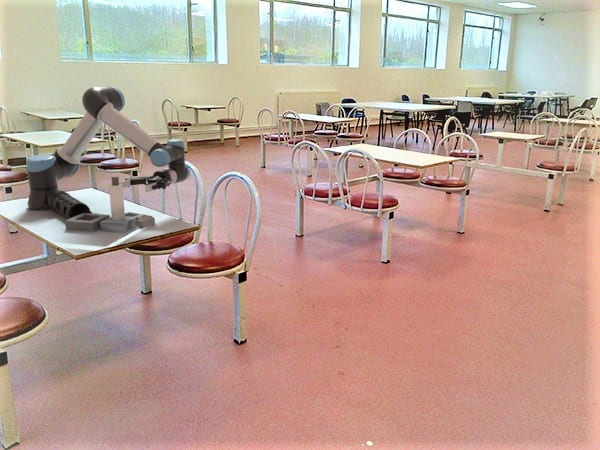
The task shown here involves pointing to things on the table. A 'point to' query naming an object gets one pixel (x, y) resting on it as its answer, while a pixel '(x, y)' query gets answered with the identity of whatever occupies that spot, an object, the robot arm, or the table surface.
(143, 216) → the handheld gaming device
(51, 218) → the table surface
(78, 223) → the socket block
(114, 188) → the white bottle
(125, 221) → the stand
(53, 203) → the muzzle brake
